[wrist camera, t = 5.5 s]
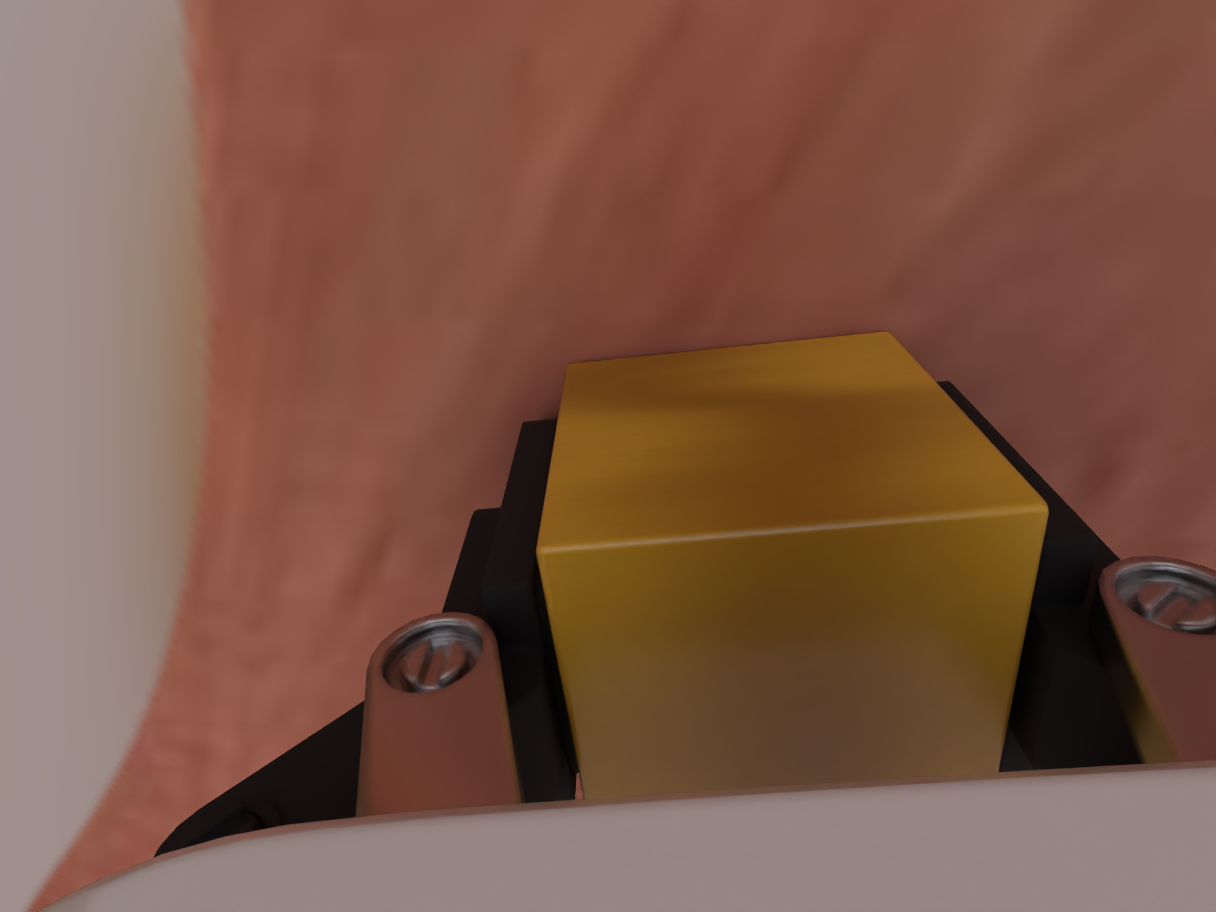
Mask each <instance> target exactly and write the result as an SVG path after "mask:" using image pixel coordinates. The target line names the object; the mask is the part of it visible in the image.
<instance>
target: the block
mask: <svg viewBox="0 0 1216 912" xmlns="http://www.w3.org/2000/svg"><path fill="white" fill-rule="evenodd" d="M1048 514H1049V511H1048V506H1047V503H1046V502H1045V500H1044V499H1043V498H1042V497H1041V496H1040V495H1039V494H1038V493H1037V492H1036V491H1035V490H1034V488H1033V487H1032V486H1031V485H1030V484H1029V483H1028V482H1027V481H1026V480H1025V479H1024V478H1023V476H1022V475H1021V474H1020V473H1019V472H1018V471H1017V470H1016V469H1015V468H1014V467H1013V466H1012V464H1011V463H1010V462H1009V461H1008V460H1007V459H1006V458H1005V457H1004V456H1003V455H1002V454H1001V452H1000V451H999V450H998V449H997V448H996V447H995V446H994V445H993V444H992V443H991V442H990V440H989V439H988V438H987V437H986V436H985V435H984V434H983V433H982V432H981V431H980V430H979V428H978V427H977V426H976V425H975V424H974V423H973V422H972V421H971V420H970V419H969V418H968V416H967V415H966V414H965V413H964V412H963V411H962V410H961V409H960V408H959V407H958V406H957V404H956V403H955V402H954V401H953V400H952V399H951V398H950V397H949V396H948V395H947V394H946V392H945V391H944V390H943V389H942V388H941V387H940V386H939V385H938V384H937V383H936V382H935V380H934V379H933V378H932V377H931V376H930V375H929V374H928V373H927V372H926V371H925V370H924V368H923V367H922V366H921V365H920V364H919V363H918V362H917V361H916V360H915V359H914V358H913V356H912V355H911V354H910V353H909V352H908V351H907V350H906V349H905V348H904V347H903V346H902V344H901V343H900V342H899V341H898V340H897V339H896V338H895V337H894V336H893V335H892V334H891V333H890V332H886V331H885V332H875V333H865V334H855V335H845V336H836V337H826V338H816V339H806V340H796V341H786V342H777V343H767V344H757V345H747V346H737V347H727V348H718V349H708V350H698V351H688V352H678V353H668V354H659V355H649V356H639V357H629V358H619V359H609V360H600V361H590V362H580V363H571V364H569V365H567V368H566V372H565V378H564V384H563V391H562V397H561V403H560V409H559V415H558V421H557V427H556V433H555V439H554V445H553V451H552V457H551V463H550V469H549V475H548V481H547V487H546V493H545V499H544V505H543V511H542V517H541V523H540V529H539V536H538V542H537V548H536V556H537V561H538V566H539V571H540V576H541V581H542V586H543V592H544V597H545V602H546V607H547V612H548V617H549V622H550V627H551V632H552V638H553V643H554V648H555V653H556V658H557V663H558V668H559V673H560V679H561V684H562V689H563V694H564V699H565V704H566V709H567V714H568V719H569V725H570V730H571V735H572V740H573V745H574V750H575V755H576V760H577V765H578V771H579V776H580V781H581V786H582V791H583V796H584V799H594V798H609V797H623V796H638V795H653V794H667V793H682V792H697V791H711V790H726V789H741V788H757V787H772V786H788V785H804V784H820V783H835V782H851V781H867V780H883V779H899V778H915V777H931V776H948V775H964V774H980V773H996V772H999V767H1000V761H1001V756H1002V751H1003V746H1004V741H1005V736H1006V731H1007V725H1008V720H1009V715H1010V710H1011V705H1012V700H1013V694H1014V689H1015V684H1016V679H1017V674H1018V669H1019V664H1020V658H1021V653H1022V648H1023V643H1024V638H1025V633H1026V627H1027V622H1028V617H1029V612H1030V607H1031V602H1032V597H1033V591H1034V586H1035V581H1036V576H1037V571H1038V566H1039V560H1040V555H1041V550H1042V545H1043V540H1044V535H1045V530H1046V524H1047V519H1048Z"/></svg>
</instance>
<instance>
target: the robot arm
mask: <svg viewBox="0 0 1216 912" xmlns="http://www.w3.org/2000/svg"><path fill="white" fill-rule="evenodd" d="M936 383H937V384H938V385H939V386H940V387H941V388H942V389H943V390H944V391H945V392H946V394H947V395H948V396H949V397H950V398H951V399H952V400H953V401H954V402H955V403H956V404H957V406H958V407H959V408H960V409H961V410H962V411H963V412H964V413H965V414H966V415H967V416H968V418H969V419H970V420H971V421H972V422H973V423H974V424H975V425H976V426H977V427H978V428H979V430H980V431H981V432H982V433H983V434H984V435H985V436H986V437H987V438H988V439H989V440H990V442H991V443H992V444H993V445H994V446H995V447H996V448H997V449H998V450H999V451H1000V452H1001V454H1002V455H1003V456H1004V457H1005V458H1006V459H1007V460H1008V461H1009V462H1010V463H1011V464H1012V466H1013V467H1014V468H1015V469H1016V470H1017V471H1018V472H1019V473H1020V474H1021V475H1022V476H1023V478H1024V479H1025V480H1026V481H1027V482H1028V483H1029V484H1030V485H1031V486H1032V487H1033V488H1034V490H1035V491H1036V492H1037V493H1038V494H1039V495H1040V496H1041V497H1042V498H1043V499H1044V500H1045V502H1046V503H1047V506H1048V511H1049V514H1048V519H1047V524H1046V530H1045V535H1044V540H1043V545H1042V550H1041V555H1040V560H1039V566H1038V571H1037V576H1036V581H1035V586H1034V591H1033V597H1032V602H1031V607H1030V612H1029V617H1028V622H1027V627H1026V633H1025V638H1024V643H1023V648H1022V653H1021V658H1020V664H1019V669H1018V674H1017V679H1016V684H1015V689H1014V694H1013V700H1012V705H1011V710H1010V715H1009V720H1008V725H1007V731H1006V736H1005V741H1004V746H1003V751H1002V756H1001V761H1000V767H999V772H996V773H980V774H964V775H948V776H931V777H915V778H899V779H883V780H867V781H851V782H835V783H820V784H804V785H788V786H772V787H757V788H741V789H726V790H711V791H697V792H682V793H667V794H653V795H638V796H623V797H609V798H594V799H580V800H575V791H576V774H577V773H579V771H578V765H577V760H576V755H575V750H574V745H573V740H572V735H571V730H570V725H569V719H568V714H567V709H566V704H565V699H564V694H563V689H562V684H561V679H560V673H559V668H558V663H557V658H556V653H555V648H554V643H553V638H552V632H551V627H550V622H549V617H548V612H547V607H546V602H545V597H544V592H543V586H542V581H541V576H540V571H539V566H538V561H537V556H536V548H537V542H538V536H539V529H540V523H541V517H542V511H543V505H544V499H545V493H546V487H547V481H548V475H549V469H550V463H551V457H552V451H553V445H554V439H555V433H556V427H557V421H558V419H550V420H540V421H530V422H523V424H522V427H521V431H520V435H519V439H518V442H517V446H516V450H515V454H514V458H513V462H512V466H511V470H510V474H509V478H508V482H507V486H506V490H505V493H504V497H503V501H502V505H501V508H490V509H479V510H476V511H474V513H473V515H472V517H471V521H470V524H469V527H468V530H467V534H466V537H465V540H464V543H463V546H462V550H461V553H460V556H459V559H458V562H457V566H456V569H455V572H454V575H453V579H452V582H451V585H450V588H449V591H448V595H447V598H446V601H445V604H444V607H443V611H442V613H437V614H431V615H428V616H425V617H422V618H419V619H416V620H413V621H411V622H409V623H407V624H405V625H404V626H402V627H400V628H398V629H396V630H395V631H394V632H392V633H391V634H390V635H389V636H388V637H387V638H385V639H384V640H383V641H382V642H381V643H380V644H379V646H378V647H377V649H376V650H375V651H374V653H373V654H372V656H371V658H370V661H369V665H368V668H367V675H366V688H365V700H364V701H363V702H361V703H360V704H358V705H357V706H355V707H354V708H352V709H351V710H349V711H348V712H346V713H345V714H343V715H342V716H340V717H339V718H337V719H336V720H334V721H333V722H331V723H330V724H328V725H326V726H325V727H323V728H322V729H320V730H319V731H317V732H316V733H314V734H313V735H311V736H310V737H308V738H307V739H305V740H304V741H302V742H301V743H299V744H298V745H296V746H295V747H293V748H292V749H290V750H289V751H287V752H285V753H284V754H282V755H281V756H279V757H278V758H276V759H275V760H273V761H272V762H270V763H269V764H267V765H266V766H264V767H263V768H261V769H260V770H258V771H257V772H255V773H254V774H252V775H251V776H249V777H247V778H246V779H244V780H243V781H241V782H240V783H238V784H237V785H235V786H234V787H232V788H231V789H229V790H228V791H226V792H225V793H223V794H222V795H220V796H219V797H217V798H216V799H214V800H213V801H211V802H209V803H208V804H206V805H205V806H203V807H202V808H200V809H199V810H198V811H196V812H195V813H194V814H193V815H191V816H190V817H189V818H187V819H186V820H185V821H184V822H182V823H181V824H180V825H179V826H177V828H176V829H175V830H174V831H173V832H172V833H171V834H170V835H169V837H168V838H167V839H166V840H165V841H164V842H163V843H162V845H161V846H160V847H159V849H158V850H157V852H156V854H155V856H154V857H153V858H152V859H149V860H146V861H144V862H141V863H139V864H136V865H134V866H131V867H129V868H126V869H124V870H121V871H119V872H116V873H114V874H111V875H109V876H106V877H104V878H101V879H99V880H96V881H94V882H92V883H90V884H88V885H86V886H84V887H82V888H80V889H78V890H76V891H74V892H72V893H70V894H68V895H66V896H64V897H62V898H61V899H59V900H57V901H55V902H54V903H52V904H50V905H48V906H46V907H45V908H43V909H41V910H39V911H38V912H1216V571H1215V570H1212V569H1210V568H1208V567H1205V566H1202V565H1198V564H1194V563H1191V562H1187V561H1183V560H1180V559H1172V558H1165V557H1157V556H1148V557H1131V558H1127V559H1123V560H1120V559H1119V558H1118V557H1117V556H1116V555H1115V554H1114V553H1113V552H1112V551H1111V550H1110V549H1109V548H1108V547H1107V545H1106V544H1105V543H1104V542H1103V541H1102V540H1101V539H1100V538H1099V537H1098V536H1097V535H1096V534H1095V533H1094V532H1093V531H1092V530H1091V529H1090V528H1089V527H1088V526H1087V525H1086V523H1085V522H1084V521H1083V520H1082V519H1081V518H1080V517H1079V516H1078V515H1077V514H1076V513H1075V512H1074V511H1073V510H1072V509H1071V508H1070V507H1069V506H1068V505H1067V504H1066V503H1065V502H1064V500H1063V499H1062V498H1061V497H1060V496H1059V495H1058V494H1057V493H1056V492H1055V491H1054V490H1053V489H1052V488H1051V487H1050V486H1049V485H1048V484H1047V483H1046V482H1045V481H1044V480H1043V478H1042V477H1041V476H1040V475H1039V474H1038V473H1037V472H1036V471H1035V470H1034V469H1033V468H1032V467H1031V466H1030V465H1029V464H1028V463H1027V462H1026V461H1025V460H1024V459H1023V458H1022V457H1021V456H1020V454H1019V453H1018V452H1017V451H1016V450H1015V449H1014V448H1013V447H1012V446H1011V445H1010V444H1009V443H1008V442H1007V441H1006V440H1005V439H1004V438H1003V437H1002V436H1001V435H1000V434H999V432H998V431H997V430H996V429H995V428H994V427H993V426H992V425H991V424H990V423H989V422H988V421H987V420H986V419H985V418H984V417H983V416H982V415H981V414H980V413H979V412H978V411H977V409H976V408H975V407H974V406H973V405H972V404H971V403H970V402H969V401H968V400H967V399H966V398H965V397H964V396H963V395H962V394H961V393H960V392H959V391H958V390H957V389H956V387H955V386H954V385H953V384H952V383H950V382H949V381H943V382H936Z"/></svg>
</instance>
